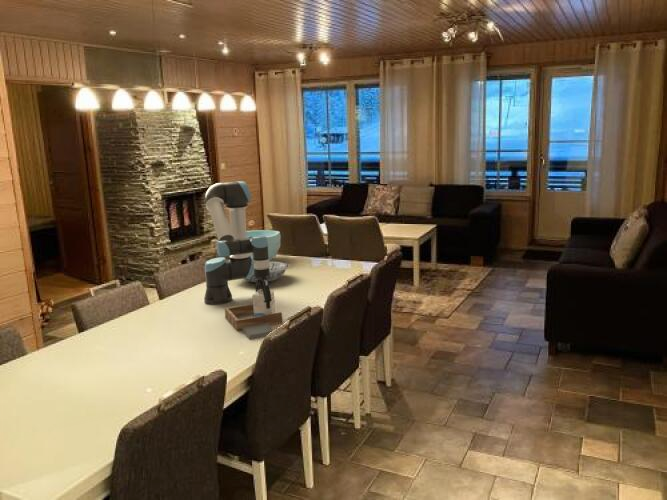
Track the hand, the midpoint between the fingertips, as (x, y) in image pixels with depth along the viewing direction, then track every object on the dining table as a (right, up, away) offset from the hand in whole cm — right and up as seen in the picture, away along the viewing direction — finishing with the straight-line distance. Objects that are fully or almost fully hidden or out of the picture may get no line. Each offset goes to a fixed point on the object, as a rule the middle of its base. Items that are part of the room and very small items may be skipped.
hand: (264, 311), depth 277 cm
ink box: (0, -2, 0) cm, 2 cm away
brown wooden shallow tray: (-5, -4, -2) cm, 7 cm away
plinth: (0, -8, -20) cm, 21 cm away
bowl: (-19, +19, +120) cm, 123 cm away
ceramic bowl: (-10, +10, +74) cm, 75 cm away
